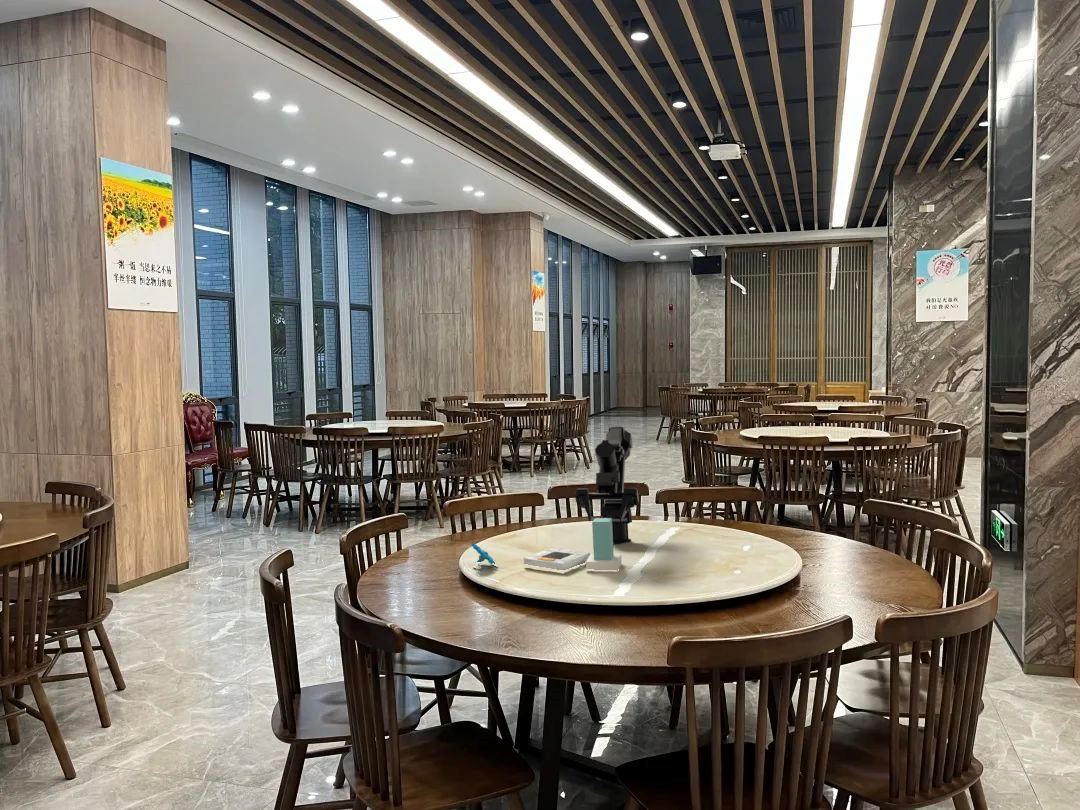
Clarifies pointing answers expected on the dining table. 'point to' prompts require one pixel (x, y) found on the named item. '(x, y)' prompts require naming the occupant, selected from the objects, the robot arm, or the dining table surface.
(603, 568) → the white flat square block
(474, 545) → the blue splat disc
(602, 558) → the teal square peg
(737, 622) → the dining table surface
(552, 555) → the hole plate
